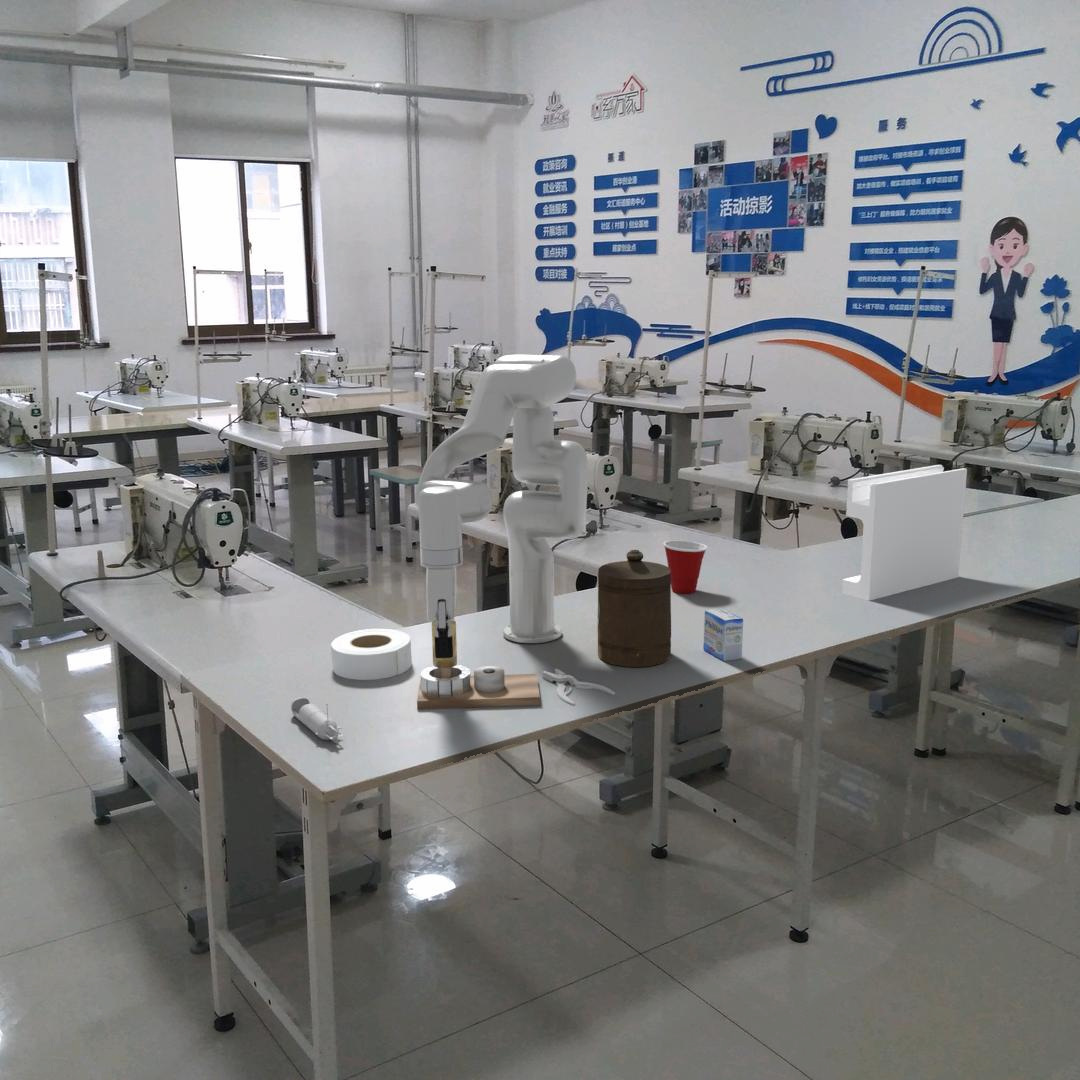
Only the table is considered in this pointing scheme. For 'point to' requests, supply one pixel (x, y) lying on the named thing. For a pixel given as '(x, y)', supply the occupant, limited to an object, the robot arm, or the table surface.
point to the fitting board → (489, 691)
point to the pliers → (564, 679)
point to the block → (907, 529)
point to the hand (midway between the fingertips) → (444, 651)
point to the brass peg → (453, 661)
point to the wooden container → (634, 612)
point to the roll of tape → (371, 654)
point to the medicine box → (723, 634)
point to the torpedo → (316, 719)
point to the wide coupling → (445, 681)
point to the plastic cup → (684, 564)
